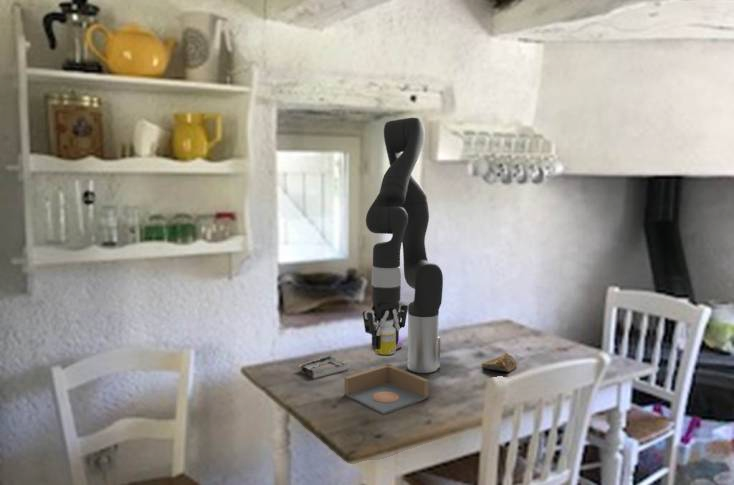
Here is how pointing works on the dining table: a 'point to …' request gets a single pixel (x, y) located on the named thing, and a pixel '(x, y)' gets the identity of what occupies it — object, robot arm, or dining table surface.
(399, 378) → the corner arena
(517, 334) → the dining table surface
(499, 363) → the decorative stone
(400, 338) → the donut
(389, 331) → the supplement bottle
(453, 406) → the dining table surface
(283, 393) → the dining table surface
